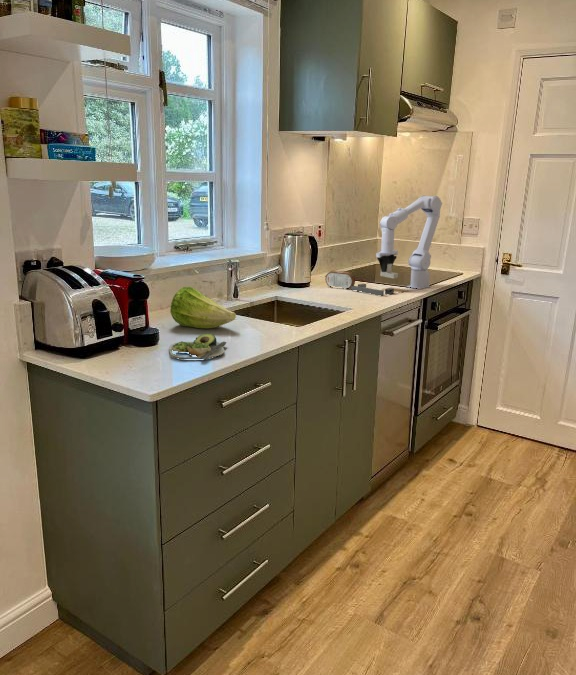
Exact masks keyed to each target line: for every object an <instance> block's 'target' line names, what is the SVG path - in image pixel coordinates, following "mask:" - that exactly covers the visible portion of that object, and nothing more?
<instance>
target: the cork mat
mask: <svg viewBox="0 0 576 675" xmlns="http://www.w3.org/2000/svg"><path fill="white" fill-rule="evenodd" d="M388 288H394V293H396V292H398V293H397V294H400V292H402V293H405V292H404V291H406V292H409V289H406V288H405V289H404V288H398V287H387V288H386V287H385V288H382V289H381V290H383V291H384V290H385V289H388Z"/></svg>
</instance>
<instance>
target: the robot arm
mask: <svg viewBox="0 0 576 675" xmlns="http://www.w3.org/2000/svg"><path fill="white" fill-rule="evenodd" d="M442 205H443V202H442V200H441V198H440V197H439V196H438V195H434V196H433V195H422V196H420V197H418V198H417V199H416V200H415V201H413V202H412V203H410V204H409V205H407V207H405V208H403V207H398V208H396V210H395V211H394V212H390V213H389V214H388V215H384V216H383V217H382V218H381V219H380V222H379V226H380V228H381V230H380V231H381V243H380V245H381V246H380V251H379V252H376V253H375V257H376V259H377V260H378V262H379V268H380V272H381V271H382V272H386V269H387V263H391V264H392V267H393V266H394V263H395V260H397V255H398V254H399V253H398V252H399V251H398V250H394V247H395V246H394V244H395V229H397V227H398V225H399V224H400V223H402V222H404V221H406V220H407V219H408V218H409V215H411V214H412V213H415V212H417V211H418V210H422V212H424V214H425V215H426V217H427V218H426V220H425V221H426V222H425V224H424V226H423V227H424V228H423V230H422V233H421V236H420V240H419V243H418V246H417V248H416V249H414V250H413V251H412V254H411V255H410V257H409V259H408V265H409V266H410V269H411V271H410V284H409V285H406V287H407V288H410V287H411V288H410V289H416V288H417V289H418V290H423V289H427V288H431V285H430V275H431V274H430V271H429V267H430V266H431V258H432V255H431V254H430V251H429V250H430V248H431V245H432V242H433V239H434V236H435V233H436V231H437V226H438V223H439V220H440V217H441V208H442Z"/></svg>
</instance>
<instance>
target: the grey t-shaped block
mask: <svg viewBox="0 0 576 675" xmlns="http://www.w3.org/2000/svg"><path fill="white" fill-rule="evenodd" d="M392 269H393V266H392V264H391V263H387V269H386V272H382V271H381V270H380V277H382V278H383V277H385V278H388V279H394V280H395V279H397V278H399V273H398V272H393V271H392Z"/></svg>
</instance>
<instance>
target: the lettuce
mask: <svg viewBox="0 0 576 675" xmlns="http://www.w3.org/2000/svg"><path fill="white" fill-rule="evenodd" d="M169 313H170V315H171V317H172V319H173V320H174V321H175V323H177V324H179V325H180V326H184V327H190V328H195V329H213V328H217V327H220V326H223V325H225V324H229V323H231V322H233V321H234V320H236V317H237V314H236V313H235V312H234V311H231V310H228V309H227V308H226V307H225V306H222V305H220V304H218V303H217V302H215V301H214V300H212V299H211V298H209V297H207V296H205V295H204V294H203V293H201V292H200V291H198V290H197V289H196V288H194V287H191V286H183V287H182V288H180V289H179V290H177V292H176V293H174V295H173V297H172V300H171V302H170V311H169Z"/></svg>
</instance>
